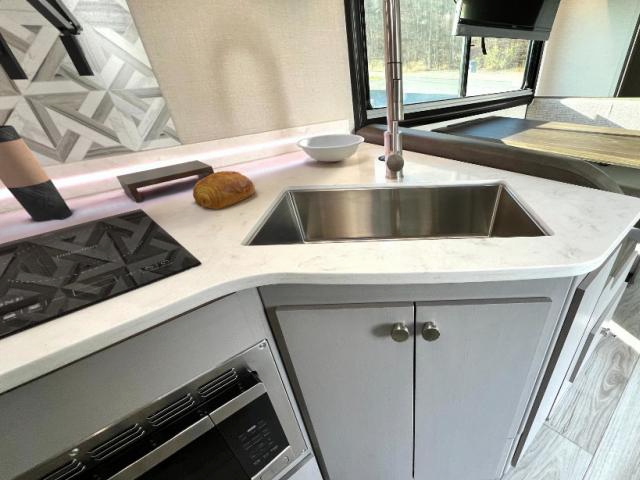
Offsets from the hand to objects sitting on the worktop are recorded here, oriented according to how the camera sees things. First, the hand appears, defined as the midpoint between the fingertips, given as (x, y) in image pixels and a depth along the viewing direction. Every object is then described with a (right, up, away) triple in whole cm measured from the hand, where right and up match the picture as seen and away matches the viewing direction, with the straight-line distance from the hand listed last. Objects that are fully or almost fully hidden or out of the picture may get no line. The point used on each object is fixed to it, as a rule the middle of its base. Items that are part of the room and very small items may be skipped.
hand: (56, 77), depth 60 cm
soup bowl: (+42, +9, +56) cm, 71 cm away
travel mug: (-21, -22, +19) cm, 36 cm away
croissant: (+19, -15, +26) cm, 35 cm away
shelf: (-3, -9, +35) cm, 36 cm away
